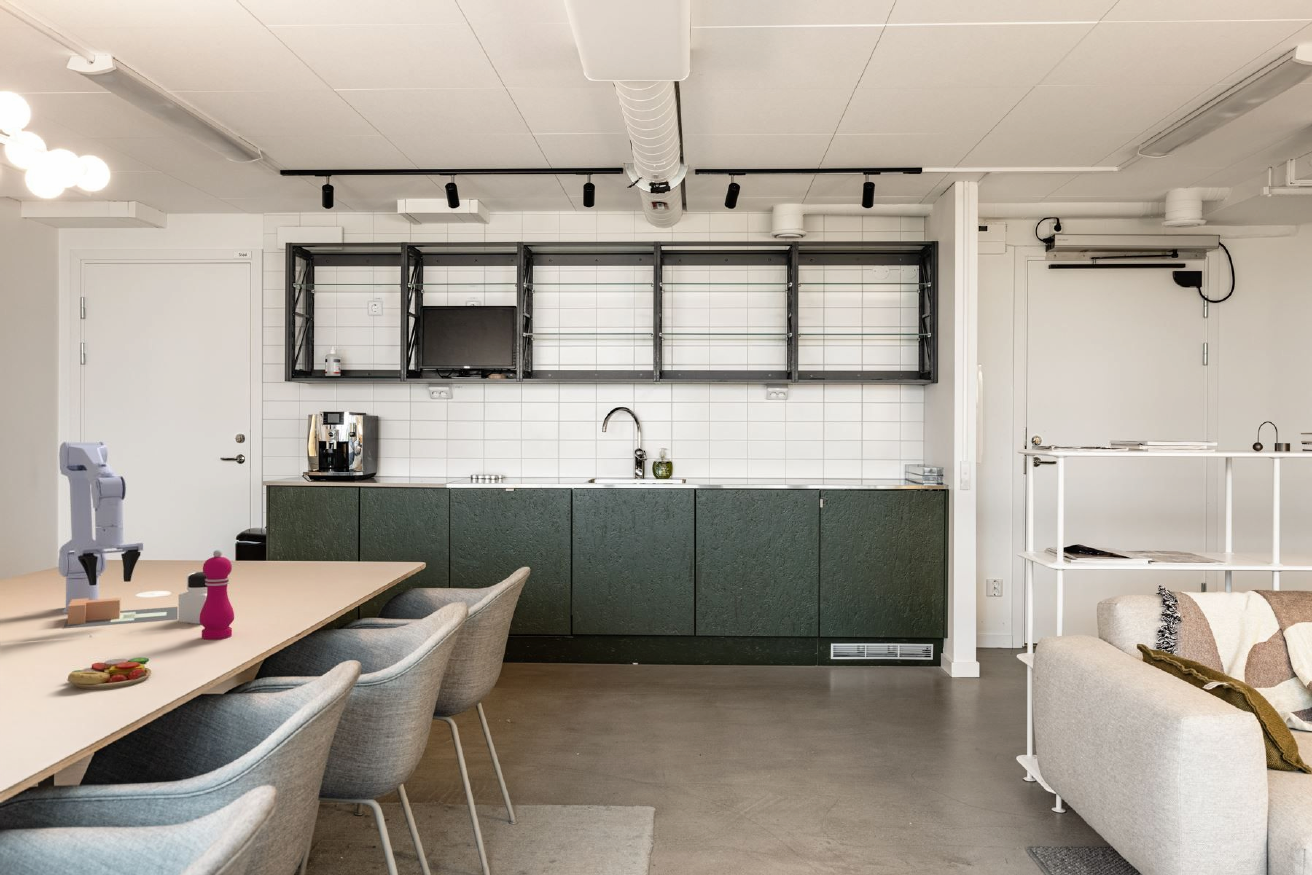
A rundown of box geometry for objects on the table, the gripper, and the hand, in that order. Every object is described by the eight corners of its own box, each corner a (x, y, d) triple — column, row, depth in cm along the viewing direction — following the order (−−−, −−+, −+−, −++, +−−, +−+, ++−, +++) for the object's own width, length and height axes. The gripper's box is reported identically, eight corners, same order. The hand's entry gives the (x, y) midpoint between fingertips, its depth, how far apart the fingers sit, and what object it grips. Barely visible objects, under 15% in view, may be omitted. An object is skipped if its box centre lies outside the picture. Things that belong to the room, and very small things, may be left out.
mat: (70, 616, 226) (70, 614, 226) (177, 608, 237) (177, 606, 237) (62, 630, 210) (62, 628, 210) (177, 620, 221) (177, 619, 221)
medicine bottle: (222, 618, 225) (222, 570, 225) (205, 624, 218) (205, 575, 218) (195, 617, 226) (195, 570, 226) (177, 623, 219) (178, 574, 219)
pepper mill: (241, 634, 207) (242, 548, 207) (216, 641, 200) (217, 552, 200) (216, 632, 209) (217, 547, 209) (191, 638, 203) (192, 550, 203)
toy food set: (62, 695, 160) (62, 677, 160) (76, 676, 172) (76, 659, 172) (147, 687, 165) (147, 669, 165) (155, 669, 177) (155, 653, 177)
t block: (72, 617, 223) (72, 599, 223) (120, 613, 228) (121, 595, 228) (67, 624, 214) (67, 606, 214) (118, 620, 219) (118, 602, 219)
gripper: (83, 528, 207) (84, 586, 206) (148, 524, 219) (149, 580, 218) (70, 529, 211) (71, 586, 210) (135, 525, 223) (136, 579, 222)
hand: (110, 583), depth 214 cm, fingers open, 7 cm apart
